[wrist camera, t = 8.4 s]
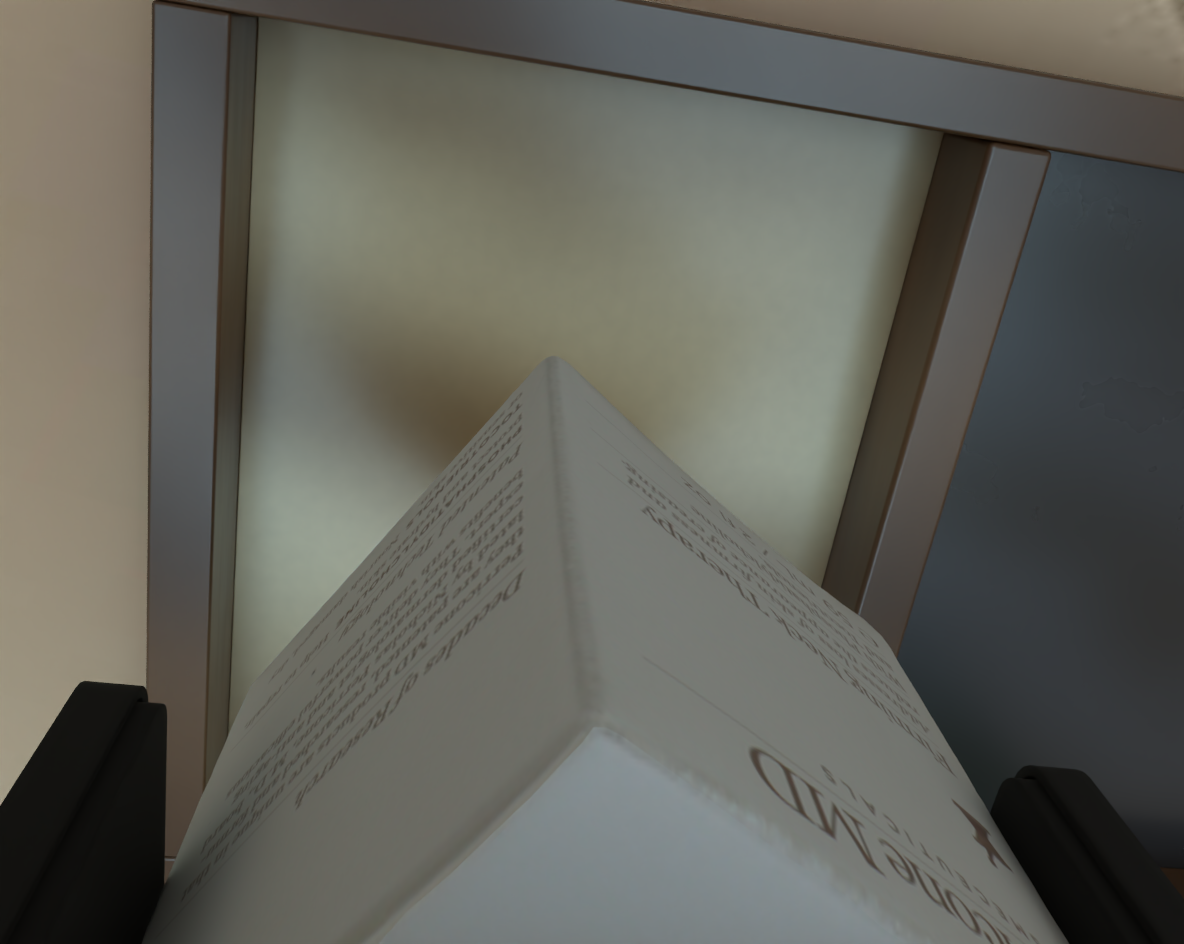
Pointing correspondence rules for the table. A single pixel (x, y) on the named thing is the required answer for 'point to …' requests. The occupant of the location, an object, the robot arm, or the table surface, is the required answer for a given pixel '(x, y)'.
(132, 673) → the table surface
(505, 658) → the product box
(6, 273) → the table surface
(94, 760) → the robot arm
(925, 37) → the table surface
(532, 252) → the tray
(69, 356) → the table surface
